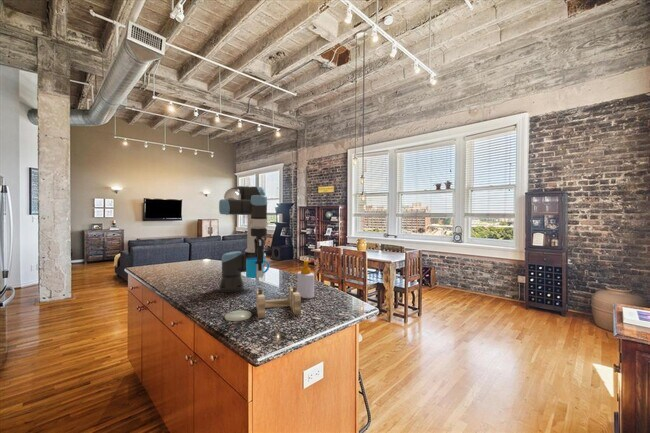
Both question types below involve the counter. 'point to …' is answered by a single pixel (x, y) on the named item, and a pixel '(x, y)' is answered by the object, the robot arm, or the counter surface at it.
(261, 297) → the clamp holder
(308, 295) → the soap bottle
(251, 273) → the mug
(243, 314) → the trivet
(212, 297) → the counter surface
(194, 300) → the counter surface
